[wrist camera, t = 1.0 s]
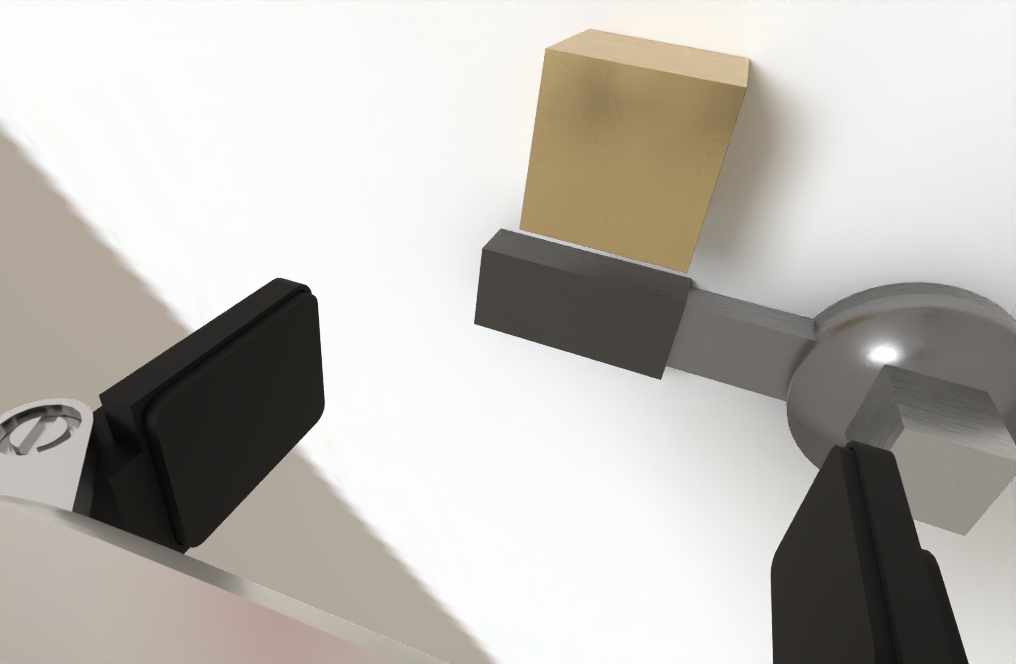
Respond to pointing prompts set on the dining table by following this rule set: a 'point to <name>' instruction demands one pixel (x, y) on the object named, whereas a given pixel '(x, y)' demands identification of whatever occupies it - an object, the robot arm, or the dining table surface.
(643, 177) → the brushed gold cube
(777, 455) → the dining table surface
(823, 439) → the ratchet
